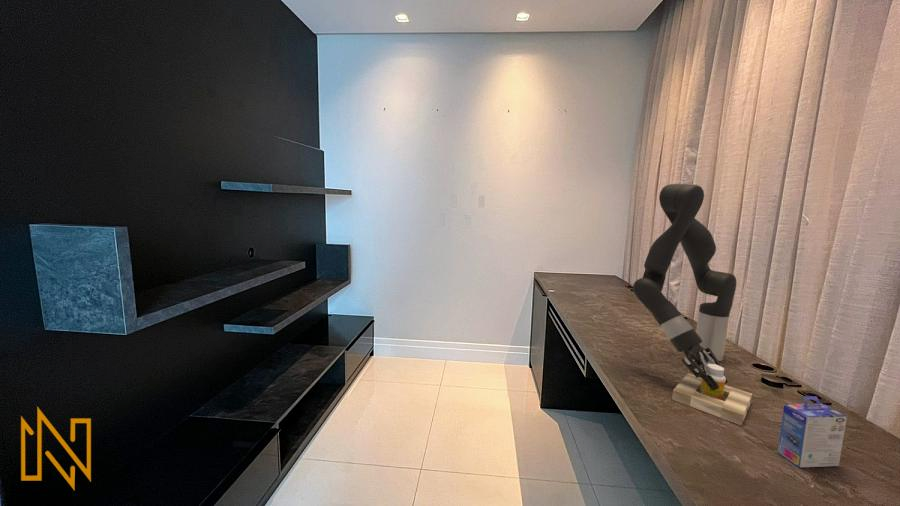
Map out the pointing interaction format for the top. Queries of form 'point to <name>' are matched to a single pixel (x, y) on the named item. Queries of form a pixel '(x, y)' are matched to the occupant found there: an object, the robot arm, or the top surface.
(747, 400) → the light wooden square frame
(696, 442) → the top surface
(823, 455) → the ink cartridge box
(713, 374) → the supplement bottle
